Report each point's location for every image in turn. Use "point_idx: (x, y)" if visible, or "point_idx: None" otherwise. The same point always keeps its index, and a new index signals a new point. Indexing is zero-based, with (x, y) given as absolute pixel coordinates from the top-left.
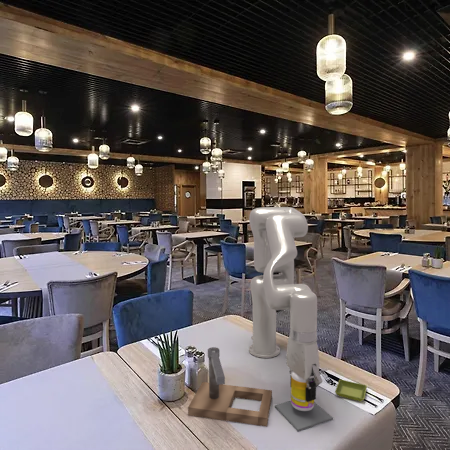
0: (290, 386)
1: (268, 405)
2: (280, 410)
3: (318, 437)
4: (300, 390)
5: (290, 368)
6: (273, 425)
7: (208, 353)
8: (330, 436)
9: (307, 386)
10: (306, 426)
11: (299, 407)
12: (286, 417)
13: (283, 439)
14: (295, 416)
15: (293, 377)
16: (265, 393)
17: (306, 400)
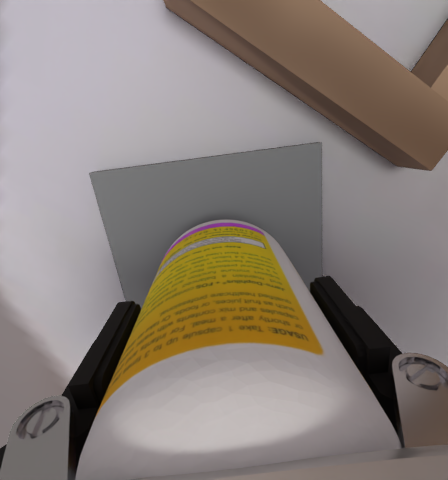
0: (330, 277)
1: (289, 62)
2: (264, 154)
3: (43, 244)
4: (142, 317)
5: (413, 469)
6: (168, 58)
7: None
8: (45, 293)
9: (65, 413)
10: (105, 225)
11: (173, 245)
12: (196, 159)
13: (44, 62)
14: (191, 210)
15: (216, 364)
16: (424, 107)
17: (118, 305)
